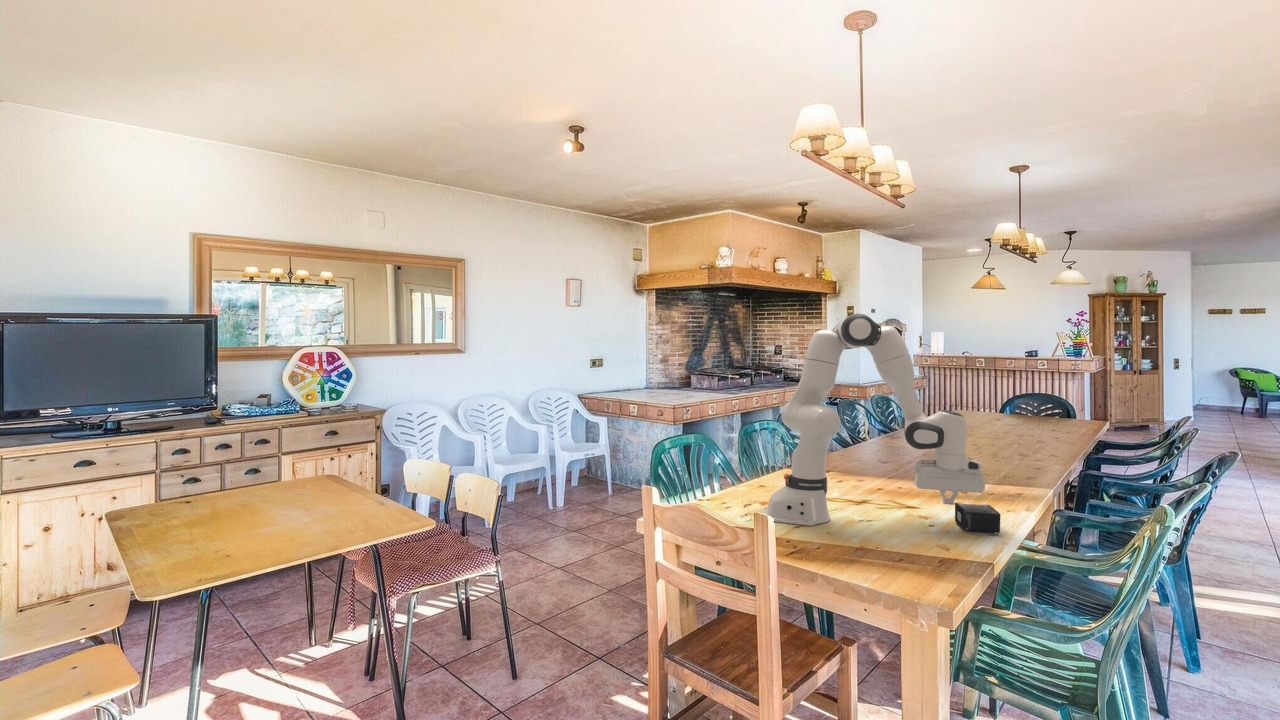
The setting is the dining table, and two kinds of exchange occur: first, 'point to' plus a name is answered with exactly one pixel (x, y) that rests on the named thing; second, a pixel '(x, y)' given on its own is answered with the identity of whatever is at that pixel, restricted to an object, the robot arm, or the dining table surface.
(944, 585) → the dining table surface
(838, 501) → the dining table surface
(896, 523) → the dining table surface
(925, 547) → the dining table surface
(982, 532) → the mat
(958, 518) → the small box
